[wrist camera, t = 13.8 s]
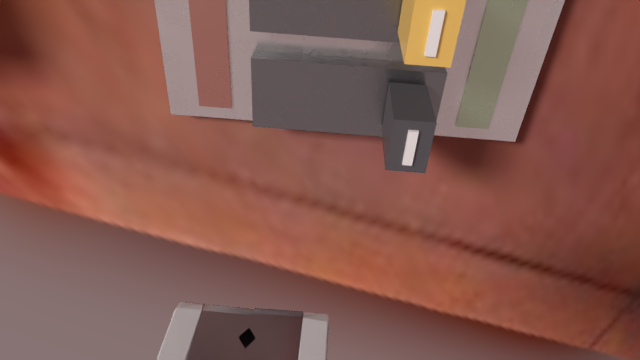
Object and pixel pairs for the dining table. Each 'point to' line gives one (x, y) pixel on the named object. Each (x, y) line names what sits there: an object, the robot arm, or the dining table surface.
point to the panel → (452, 87)
